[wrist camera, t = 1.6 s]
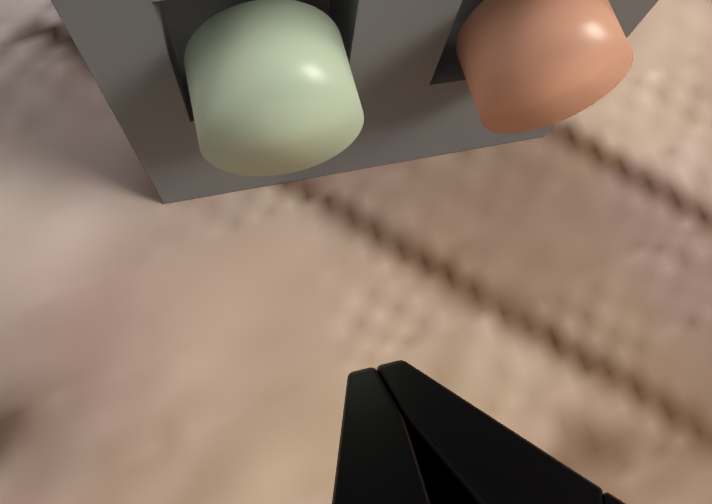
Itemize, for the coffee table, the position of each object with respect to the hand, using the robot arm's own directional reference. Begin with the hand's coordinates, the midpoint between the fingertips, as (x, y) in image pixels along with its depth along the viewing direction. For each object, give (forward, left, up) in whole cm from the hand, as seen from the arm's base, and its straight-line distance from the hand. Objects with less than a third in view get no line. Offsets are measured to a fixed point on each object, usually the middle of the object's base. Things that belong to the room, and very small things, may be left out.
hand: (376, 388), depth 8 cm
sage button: (+8, 0, -7) cm, 11 cm away
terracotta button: (+8, -8, -7) cm, 13 cm away
